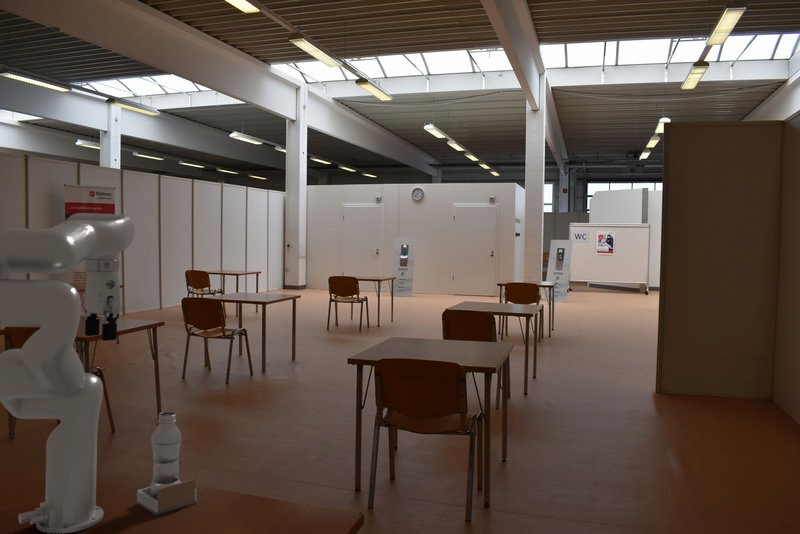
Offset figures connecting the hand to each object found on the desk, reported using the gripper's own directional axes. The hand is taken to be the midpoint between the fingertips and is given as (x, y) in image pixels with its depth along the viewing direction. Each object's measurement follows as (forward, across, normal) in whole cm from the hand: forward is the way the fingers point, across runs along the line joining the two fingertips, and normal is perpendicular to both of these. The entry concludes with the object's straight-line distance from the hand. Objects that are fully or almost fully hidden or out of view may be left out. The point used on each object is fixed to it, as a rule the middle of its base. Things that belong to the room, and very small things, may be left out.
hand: (100, 337), depth 150 cm
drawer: (+36, -21, -7) cm, 42 cm away
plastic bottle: (+36, -20, -7) cm, 42 cm away
